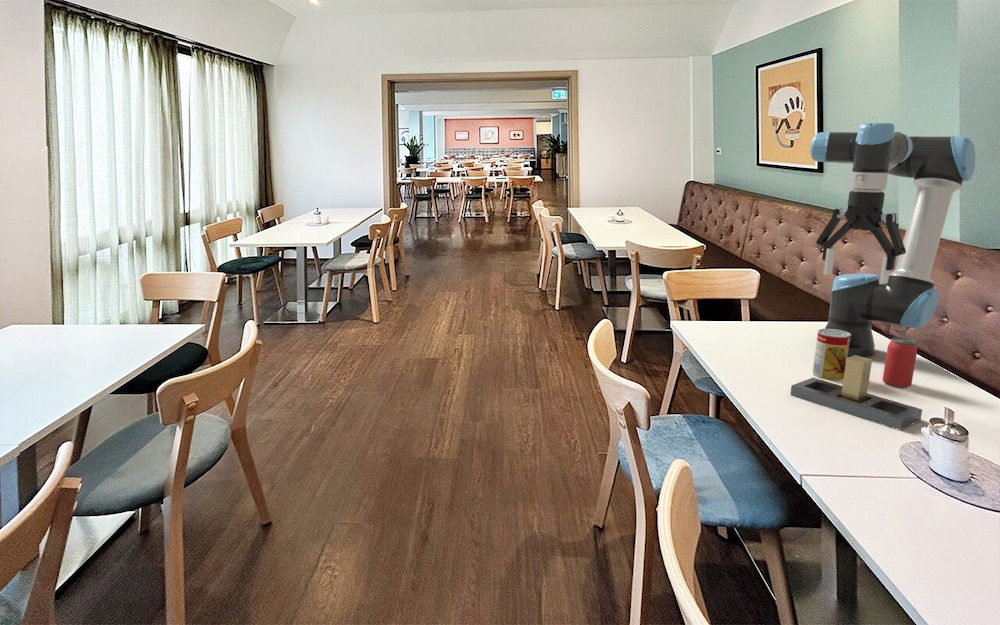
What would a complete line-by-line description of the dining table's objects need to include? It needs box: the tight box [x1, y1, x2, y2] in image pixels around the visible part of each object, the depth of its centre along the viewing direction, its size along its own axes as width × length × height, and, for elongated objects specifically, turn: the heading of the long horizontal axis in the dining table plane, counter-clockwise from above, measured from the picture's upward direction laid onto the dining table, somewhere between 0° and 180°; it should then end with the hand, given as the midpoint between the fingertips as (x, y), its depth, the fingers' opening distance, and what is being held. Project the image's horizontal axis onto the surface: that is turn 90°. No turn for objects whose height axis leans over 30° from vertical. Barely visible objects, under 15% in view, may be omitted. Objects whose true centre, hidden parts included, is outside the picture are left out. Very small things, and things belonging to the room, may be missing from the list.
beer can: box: [882, 336, 918, 389], centre depth 176 cm, size 7×7×12 cm
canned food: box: [812, 328, 851, 381], centre depth 182 cm, size 8×8×12 cm
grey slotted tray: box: [790, 377, 923, 431], centre depth 162 cm, size 10×26×2 cm, turn 37°
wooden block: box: [841, 355, 873, 404], centre depth 161 cm, size 4×4×12 cm
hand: (854, 278), depth 167 cm, fingers open, 13 cm apart
